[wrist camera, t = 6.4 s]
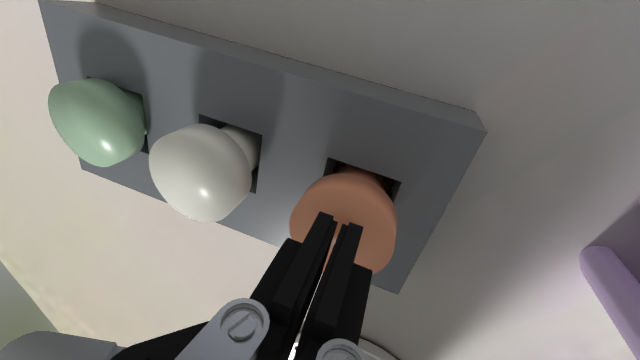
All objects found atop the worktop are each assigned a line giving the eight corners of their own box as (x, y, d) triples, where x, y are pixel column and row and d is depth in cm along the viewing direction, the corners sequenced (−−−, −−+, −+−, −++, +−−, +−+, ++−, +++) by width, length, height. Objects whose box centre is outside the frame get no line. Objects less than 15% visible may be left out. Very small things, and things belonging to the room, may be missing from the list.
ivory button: (283, 121, 15) (237, 153, 11) (273, 189, 18) (232, 235, 14) (209, 97, 16) (143, 120, 12) (209, 166, 18) (153, 203, 14)
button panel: (475, 112, 14) (487, 132, 11) (400, 258, 19) (397, 294, 16) (94, 2, 17) (37, -2, 15) (120, 152, 22) (81, 168, 20)
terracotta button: (414, 163, 14) (411, 215, 10) (385, 230, 16) (374, 292, 13) (330, 136, 15) (298, 175, 11) (313, 204, 17) (282, 255, 13)
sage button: (181, 81, 17) (113, 97, 13) (183, 147, 19) (126, 177, 16) (119, 61, 18) (37, 71, 14) (129, 127, 20) (61, 152, 16)
